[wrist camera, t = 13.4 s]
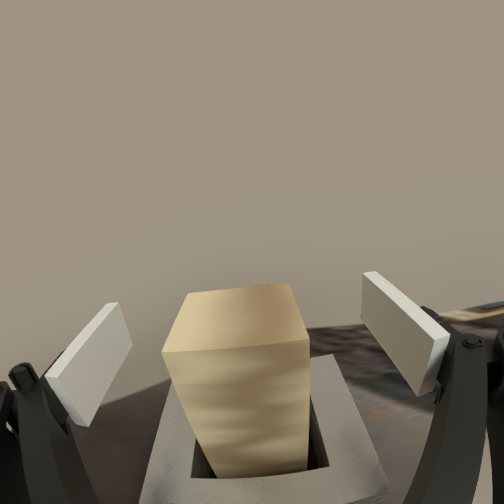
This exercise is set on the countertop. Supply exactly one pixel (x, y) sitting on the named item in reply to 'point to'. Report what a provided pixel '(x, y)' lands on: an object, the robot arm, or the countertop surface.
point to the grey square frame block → (280, 486)
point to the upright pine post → (244, 378)
